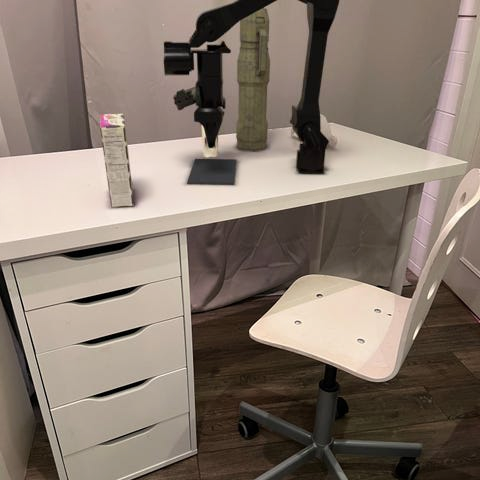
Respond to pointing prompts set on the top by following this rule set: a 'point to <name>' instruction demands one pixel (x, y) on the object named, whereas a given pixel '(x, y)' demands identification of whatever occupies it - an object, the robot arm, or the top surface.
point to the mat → (213, 172)
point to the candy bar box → (116, 160)
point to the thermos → (253, 82)
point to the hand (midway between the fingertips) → (211, 145)
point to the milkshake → (208, 151)
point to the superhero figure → (325, 131)
